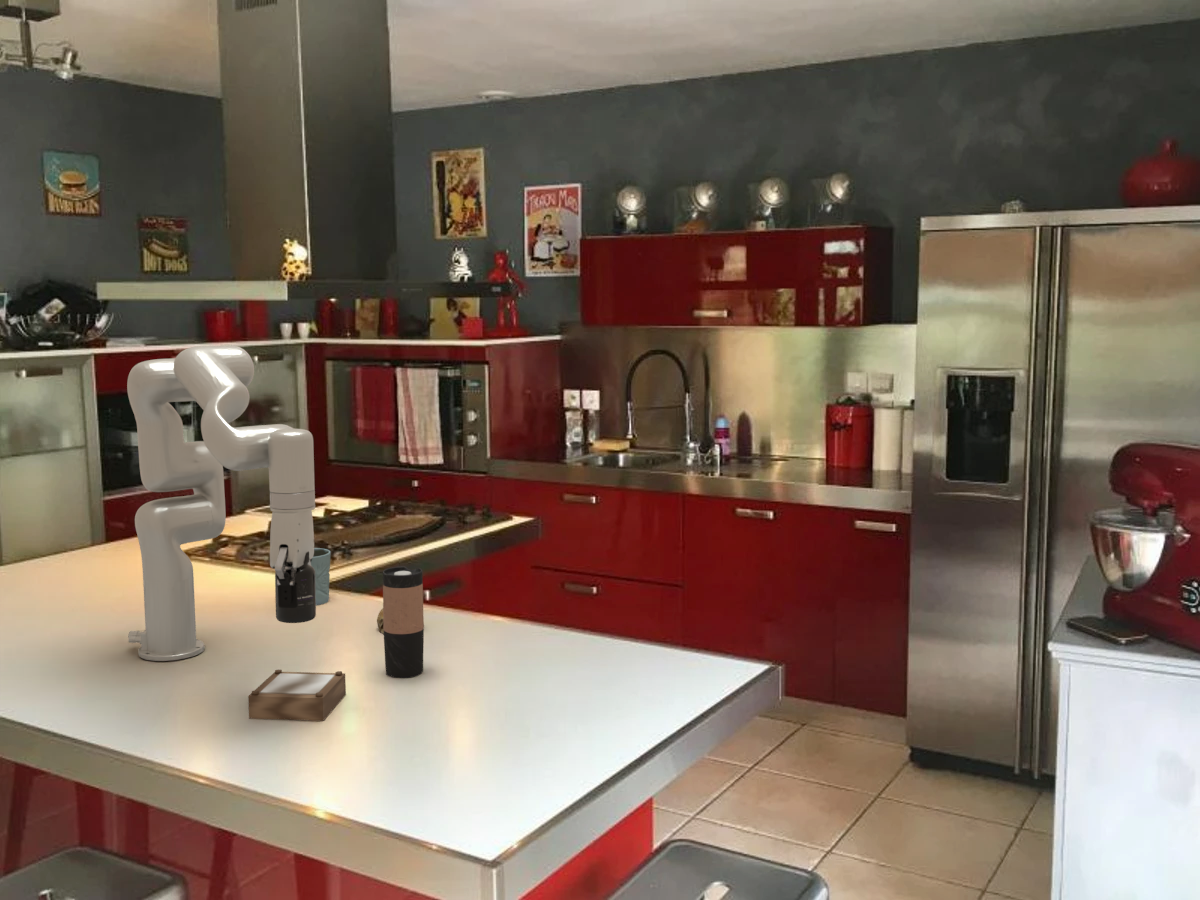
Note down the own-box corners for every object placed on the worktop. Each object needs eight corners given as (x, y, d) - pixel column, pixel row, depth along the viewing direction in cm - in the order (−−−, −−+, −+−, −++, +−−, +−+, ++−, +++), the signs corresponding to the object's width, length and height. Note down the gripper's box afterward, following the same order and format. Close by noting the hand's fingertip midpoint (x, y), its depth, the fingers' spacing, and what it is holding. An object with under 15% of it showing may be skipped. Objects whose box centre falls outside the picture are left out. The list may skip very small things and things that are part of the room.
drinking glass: (340, 600, 272) (339, 551, 270) (308, 609, 263) (307, 559, 262) (310, 594, 277) (309, 546, 276) (278, 603, 269) (277, 553, 267)
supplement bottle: (305, 625, 194) (303, 556, 193) (268, 622, 196) (266, 554, 194) (323, 614, 201) (321, 548, 200) (287, 612, 202) (285, 546, 201)
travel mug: (391, 680, 214) (389, 577, 212) (379, 669, 221) (377, 568, 218) (429, 674, 218) (428, 572, 215) (417, 663, 224) (415, 564, 222)
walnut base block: (249, 718, 195) (248, 693, 194) (276, 692, 207) (275, 668, 207) (323, 720, 194) (322, 695, 193) (345, 694, 206) (345, 670, 206)
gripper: (288, 492, 205) (291, 588, 207) (252, 509, 187) (256, 614, 190) (329, 492, 204) (332, 589, 206) (296, 510, 187) (300, 615, 189)
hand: (295, 600), depth 198 cm, fingers closed on supplement bottle, 6 cm apart
